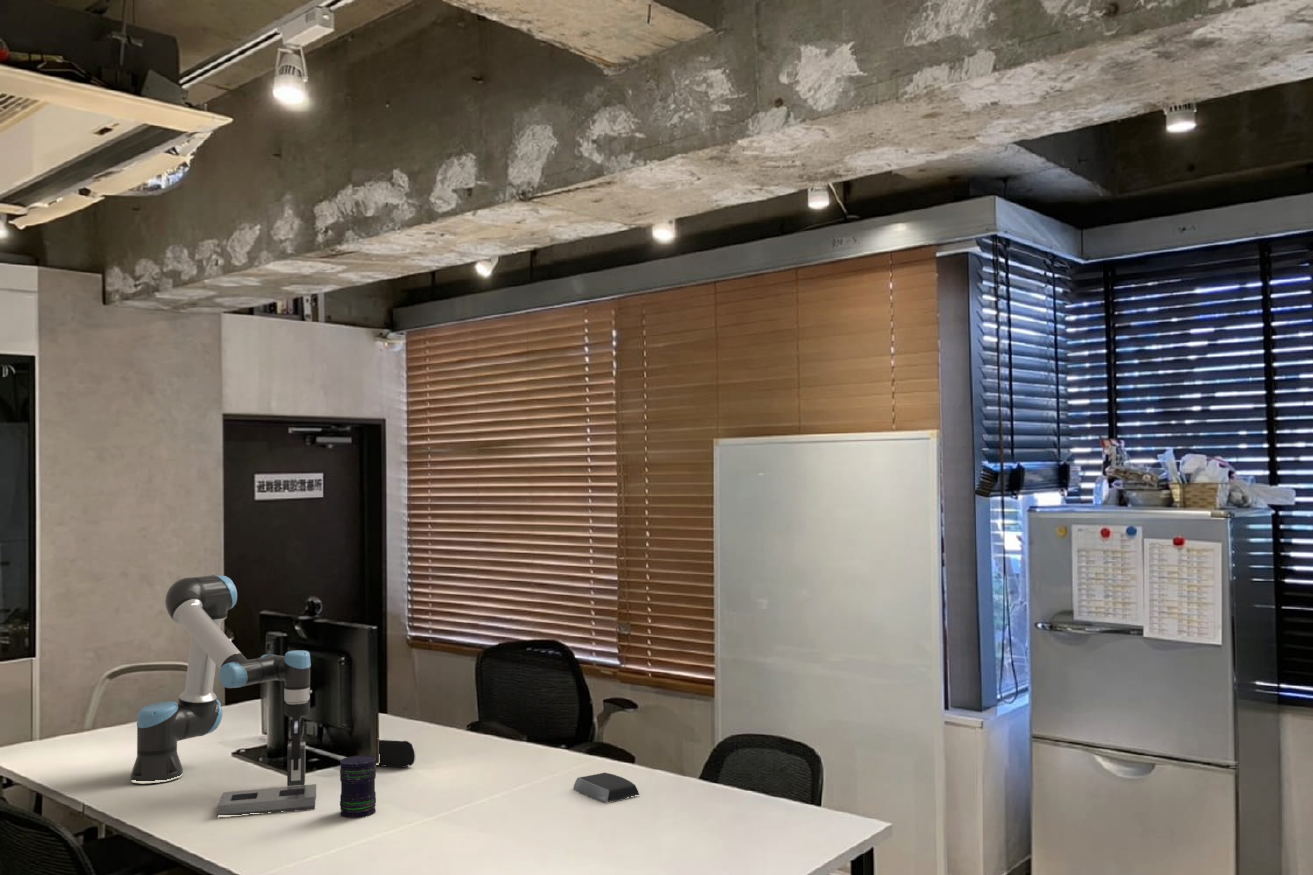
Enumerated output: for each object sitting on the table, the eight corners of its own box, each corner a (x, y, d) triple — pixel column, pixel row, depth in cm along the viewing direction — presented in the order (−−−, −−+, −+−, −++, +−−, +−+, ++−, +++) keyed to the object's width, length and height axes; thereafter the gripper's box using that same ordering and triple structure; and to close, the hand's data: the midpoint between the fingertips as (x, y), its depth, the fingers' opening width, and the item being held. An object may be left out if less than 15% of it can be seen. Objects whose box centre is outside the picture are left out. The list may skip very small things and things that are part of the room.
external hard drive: (604, 805, 300) (604, 790, 301) (570, 790, 316) (570, 776, 316) (642, 797, 308) (641, 783, 308) (607, 783, 324) (607, 769, 324)
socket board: (223, 804, 306) (223, 792, 306) (316, 795, 313) (316, 783, 313) (216, 818, 292) (217, 805, 293) (314, 809, 300) (314, 796, 300)
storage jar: (338, 810, 298) (338, 757, 299) (374, 806, 302) (374, 753, 302) (341, 820, 289) (341, 765, 290) (377, 815, 292) (377, 761, 293)
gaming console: (413, 769, 342) (417, 766, 345) (412, 742, 342) (415, 739, 345) (361, 766, 348) (365, 763, 350) (360, 739, 348) (364, 737, 350)
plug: (288, 782, 324) (288, 743, 324) (305, 780, 325) (305, 741, 326) (287, 786, 319) (287, 746, 320) (304, 784, 321) (304, 745, 321)
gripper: (308, 706, 316) (307, 784, 315) (311, 695, 333) (310, 769, 332) (282, 708, 314) (281, 786, 313) (286, 696, 331) (285, 771, 330)
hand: (296, 777), depth 322 cm, fingers closed on plug, 4 cm apart
